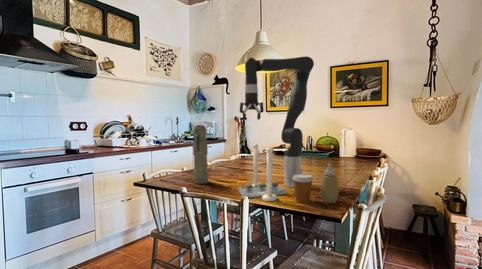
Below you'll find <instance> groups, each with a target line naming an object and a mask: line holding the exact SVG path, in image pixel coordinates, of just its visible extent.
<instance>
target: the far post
mask: <svg viewBox="0 0 482 269" xmlns="http://www.w3.org/2000/svg"><path fill="white" fill-rule="evenodd" d="M252 148H253V183H251V184H252V186H259V185H258V184H259V180H258V179H259V164H258V163H259V161H258V160H259V159H258V158H259V144H258V143H253V144H252Z"/></svg>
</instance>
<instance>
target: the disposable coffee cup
mask: <svg viewBox="0 0 482 269" xmlns="http://www.w3.org/2000/svg"><path fill="white" fill-rule="evenodd" d="M293 181H294V187H293V188H294V194H295V201H296V202H298V203H303V204H304V203H306V204H307V203H309V202H310V200H311V194H312V193H311V192H312V184H313V181H314V177H313V175H311V174H309V173H302V174H295V175H293Z"/></svg>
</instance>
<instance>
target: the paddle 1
mask: <svg viewBox="0 0 482 269" xmlns="http://www.w3.org/2000/svg"><path fill="white" fill-rule="evenodd" d="M252 184H253V183H247V184H245V187H246V189H248V190H249V189H252V188H253V186H252Z"/></svg>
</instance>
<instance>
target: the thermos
mask: <svg viewBox="0 0 482 269" xmlns="http://www.w3.org/2000/svg"><path fill="white" fill-rule="evenodd" d="M208 151H209V150H208V144H207V129H206V126H205V125H201V124H200V125H195V126H194V127H193V145H192V155H193V167H194V169H193V183H194V184H196V185H204V184H208V183H209V171H208Z"/></svg>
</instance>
